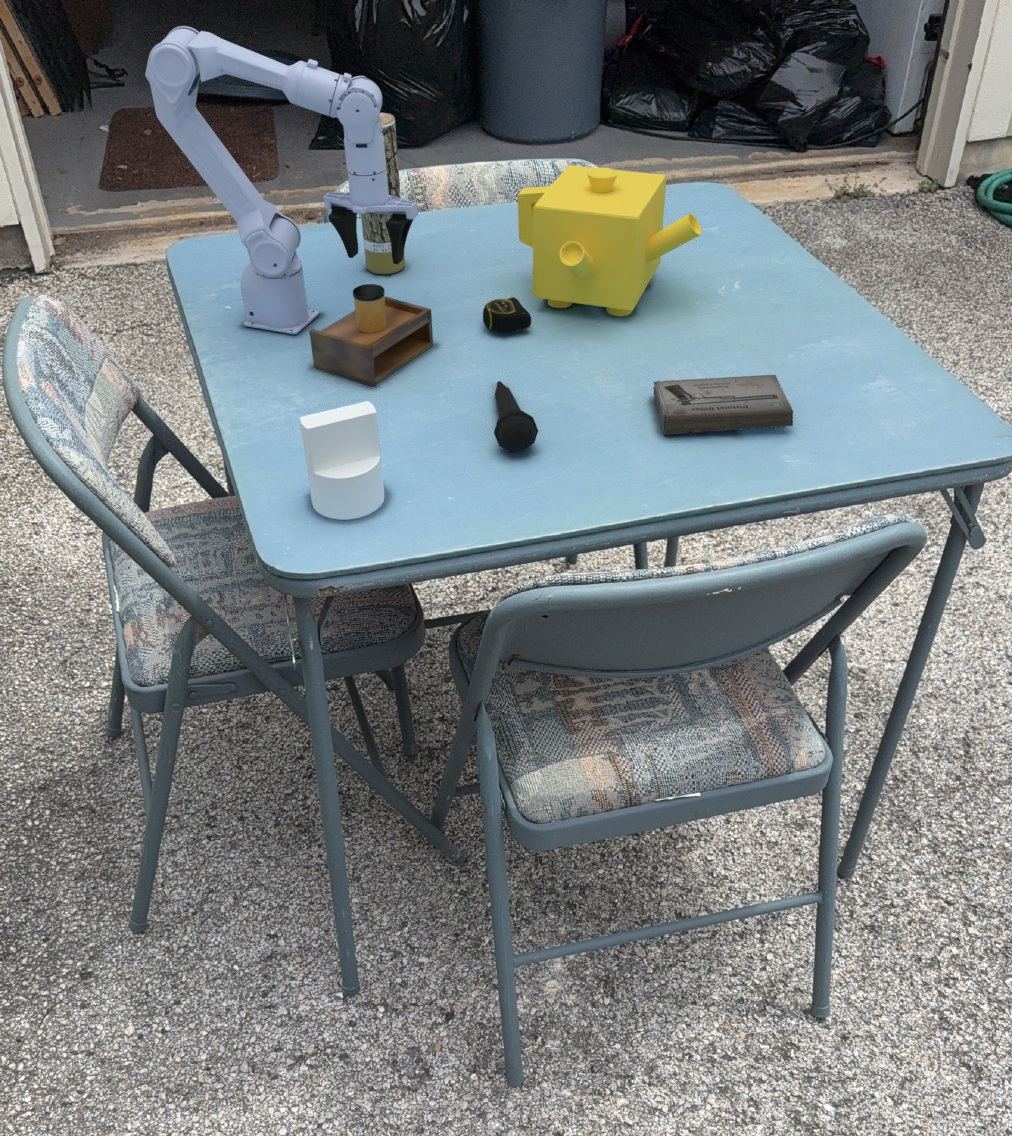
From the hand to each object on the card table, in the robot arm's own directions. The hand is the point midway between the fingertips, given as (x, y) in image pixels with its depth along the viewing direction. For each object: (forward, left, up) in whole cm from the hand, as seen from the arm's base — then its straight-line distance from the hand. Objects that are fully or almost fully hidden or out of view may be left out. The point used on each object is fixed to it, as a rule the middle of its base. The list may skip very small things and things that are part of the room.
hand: (375, 258), depth 173 cm
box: (+57, -11, -11) cm, 59 cm away
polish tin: (+4, -11, -5) cm, 13 cm away
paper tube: (-8, +19, -11) cm, 23 cm away
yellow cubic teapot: (+31, +21, -11) cm, 39 cm away
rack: (+4, -11, -10) cm, 16 cm away
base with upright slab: (+18, -46, -11) cm, 51 cm away
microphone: (+31, -22, -11) cm, 39 cm away
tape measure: (+20, +5, -11) cm, 23 cm away
